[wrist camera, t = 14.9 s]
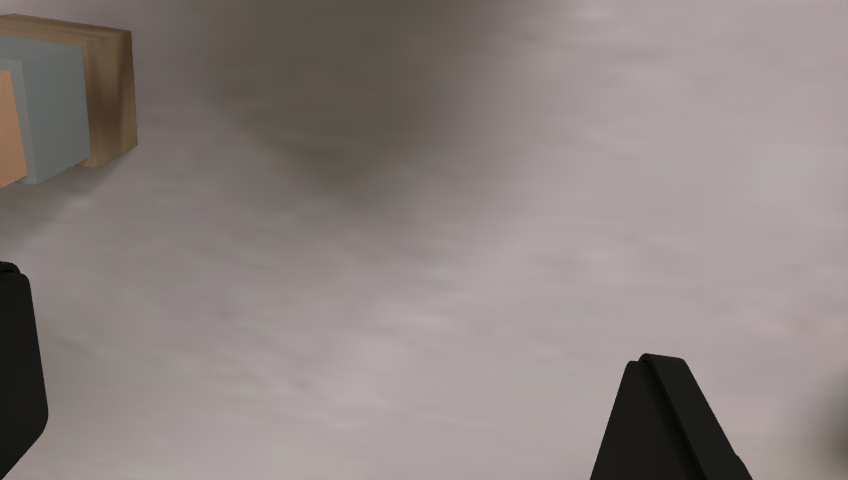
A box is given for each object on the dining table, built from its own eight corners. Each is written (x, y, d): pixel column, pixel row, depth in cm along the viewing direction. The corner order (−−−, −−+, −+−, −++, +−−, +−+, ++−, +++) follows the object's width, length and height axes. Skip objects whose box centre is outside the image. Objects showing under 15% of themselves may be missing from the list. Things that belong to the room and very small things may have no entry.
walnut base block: (14, 13, 38) (-47, 22, 33) (131, 30, 38) (86, 41, 33) (29, 128, 41) (-26, 150, 36) (138, 144, 41) (97, 168, 36)
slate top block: (-33, 29, 33) (-111, 41, 29) (81, 46, 33) (21, 61, 29) (-15, 140, 36) (-84, 167, 31) (91, 155, 36) (37, 185, 31)
